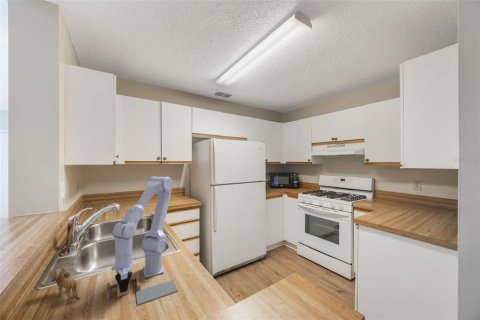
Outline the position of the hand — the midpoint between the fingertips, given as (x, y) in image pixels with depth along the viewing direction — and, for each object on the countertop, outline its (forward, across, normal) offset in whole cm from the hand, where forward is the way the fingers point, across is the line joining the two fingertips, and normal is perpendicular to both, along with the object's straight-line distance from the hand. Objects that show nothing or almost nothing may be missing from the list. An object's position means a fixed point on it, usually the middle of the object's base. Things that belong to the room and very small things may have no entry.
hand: (123, 288), depth 74 cm
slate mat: (+1, +7, +11) cm, 13 cm away
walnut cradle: (+1, -1, 0) cm, 2 cm away
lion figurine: (+2, -9, -19) cm, 21 cm away
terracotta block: (+1, 0, 0) cm, 1 cm away
